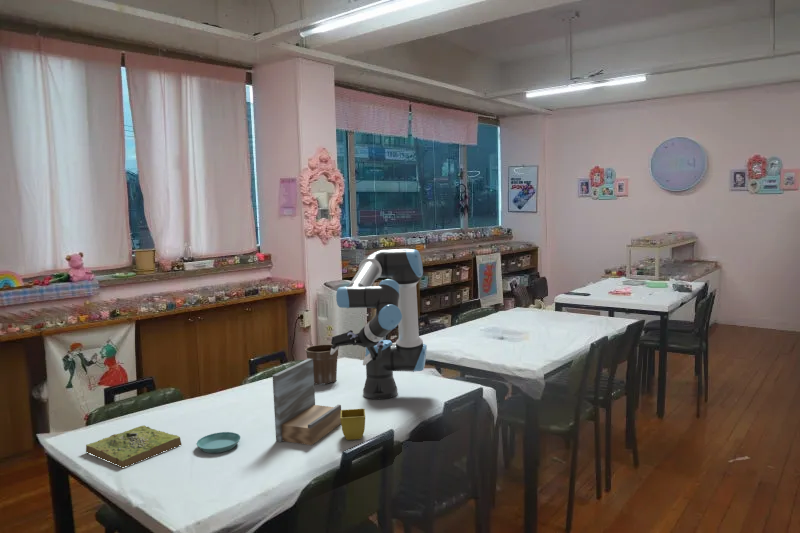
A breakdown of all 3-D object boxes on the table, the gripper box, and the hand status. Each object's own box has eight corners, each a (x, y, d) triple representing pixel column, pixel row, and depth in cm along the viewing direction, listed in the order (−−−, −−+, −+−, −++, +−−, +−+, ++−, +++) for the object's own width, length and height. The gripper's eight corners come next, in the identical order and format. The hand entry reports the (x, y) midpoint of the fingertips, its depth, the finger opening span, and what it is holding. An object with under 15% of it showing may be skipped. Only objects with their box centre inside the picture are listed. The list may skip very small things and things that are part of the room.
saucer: (195, 443, 207) (194, 436, 207) (237, 436, 213) (237, 429, 213) (198, 459, 194) (198, 451, 194) (243, 450, 200) (243, 443, 200)
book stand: (343, 422, 223) (340, 361, 221) (310, 446, 201) (306, 378, 199) (311, 418, 228) (308, 358, 226) (276, 441, 206) (272, 375, 204)
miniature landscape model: (122, 470, 188) (121, 455, 188) (85, 454, 202) (84, 440, 201) (181, 446, 206) (180, 433, 205) (144, 433, 219) (143, 421, 219)
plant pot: (307, 377, 286) (305, 345, 285) (340, 375, 288) (339, 343, 286) (305, 386, 270) (304, 352, 269) (340, 384, 272) (339, 350, 270)
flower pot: (341, 433, 212) (340, 409, 211) (365, 431, 213) (364, 408, 212) (341, 442, 203) (340, 418, 202) (366, 441, 204) (365, 416, 203)
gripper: (339, 330, 199) (315, 355, 214) (402, 353, 207) (376, 375, 222) (342, 312, 203) (319, 338, 218) (404, 335, 212) (378, 358, 227)
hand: (347, 356), depth 220 cm, fingers open, 13 cm apart
